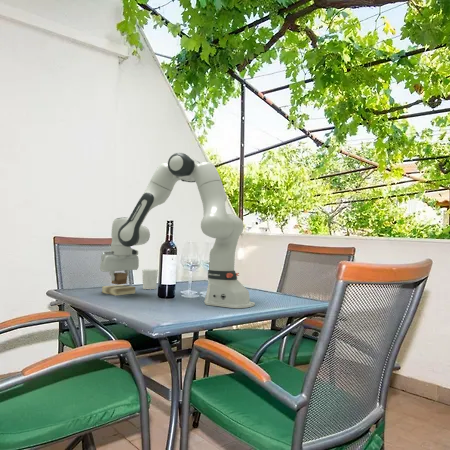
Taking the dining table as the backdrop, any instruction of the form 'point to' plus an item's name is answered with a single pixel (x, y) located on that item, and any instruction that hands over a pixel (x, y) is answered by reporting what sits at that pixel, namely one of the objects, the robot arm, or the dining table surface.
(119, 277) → the walnut cube
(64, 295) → the dining table surface
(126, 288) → the birch plinth
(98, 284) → the dining table surface
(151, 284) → the white cup
